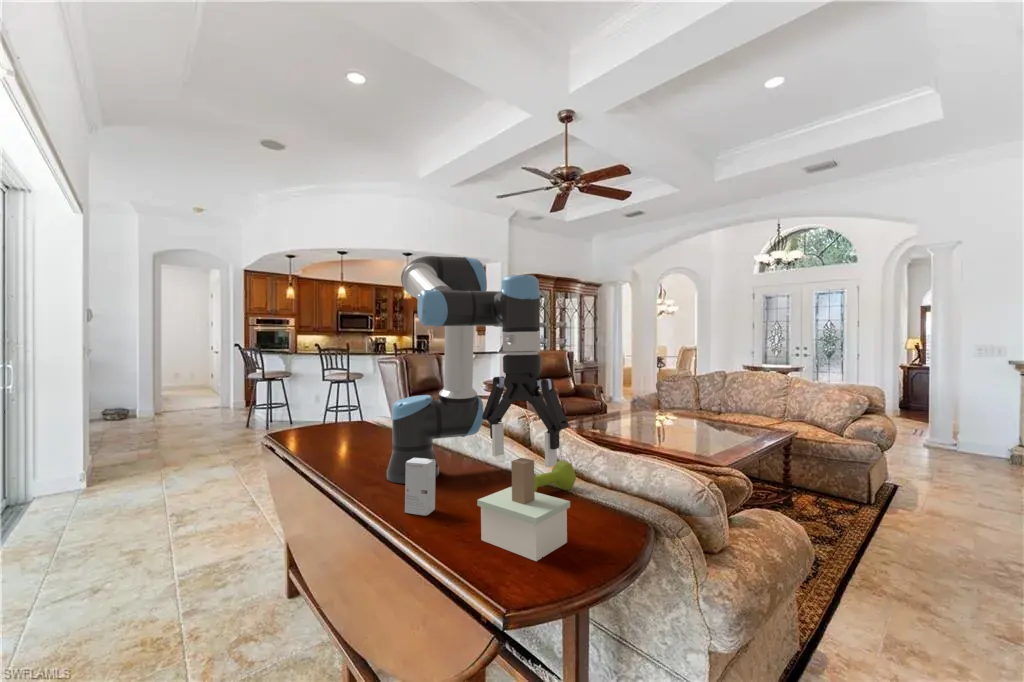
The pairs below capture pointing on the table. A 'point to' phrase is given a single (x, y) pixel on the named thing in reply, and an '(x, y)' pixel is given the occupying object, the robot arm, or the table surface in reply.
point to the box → (524, 533)
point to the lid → (524, 497)
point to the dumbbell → (557, 477)
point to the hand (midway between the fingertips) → (523, 460)
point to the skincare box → (420, 486)
